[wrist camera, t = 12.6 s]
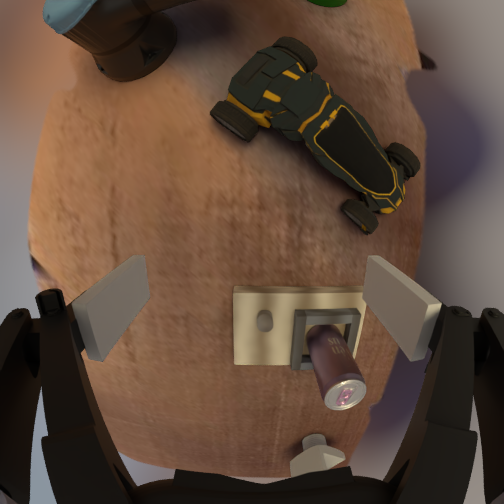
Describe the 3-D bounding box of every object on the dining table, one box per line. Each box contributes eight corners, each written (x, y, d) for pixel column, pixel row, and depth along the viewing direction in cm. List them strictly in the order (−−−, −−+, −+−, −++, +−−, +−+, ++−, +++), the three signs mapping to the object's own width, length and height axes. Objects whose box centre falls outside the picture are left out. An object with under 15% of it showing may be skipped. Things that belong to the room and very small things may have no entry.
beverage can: (301, 348, 44) (316, 410, 30) (311, 318, 43) (333, 377, 28) (332, 352, 44) (356, 411, 30) (344, 323, 43) (375, 379, 28)
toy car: (274, 47, 35) (278, 17, 25) (415, 169, 40) (449, 168, 30) (209, 117, 38) (196, 99, 29) (361, 240, 43) (388, 256, 33)
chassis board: (235, 354, 48) (233, 375, 42) (234, 285, 45) (231, 300, 39) (349, 352, 48) (358, 370, 42) (362, 285, 44) (375, 299, 39)
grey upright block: (312, 451, 57) (322, 510, 38) (287, 443, 56) (294, 507, 36) (338, 434, 55) (355, 495, 36) (314, 425, 54) (327, 492, 34)
